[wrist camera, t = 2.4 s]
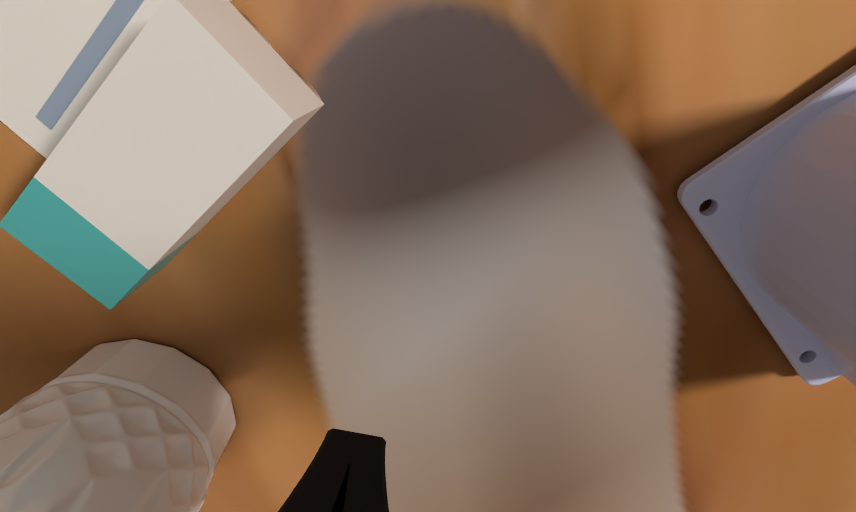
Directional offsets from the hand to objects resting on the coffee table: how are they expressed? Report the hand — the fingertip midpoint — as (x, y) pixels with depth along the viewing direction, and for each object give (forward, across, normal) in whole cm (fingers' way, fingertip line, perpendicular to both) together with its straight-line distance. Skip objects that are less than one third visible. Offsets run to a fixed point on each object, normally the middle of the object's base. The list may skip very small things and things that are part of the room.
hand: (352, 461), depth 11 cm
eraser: (+6, +7, -5) cm, 10 cm away
